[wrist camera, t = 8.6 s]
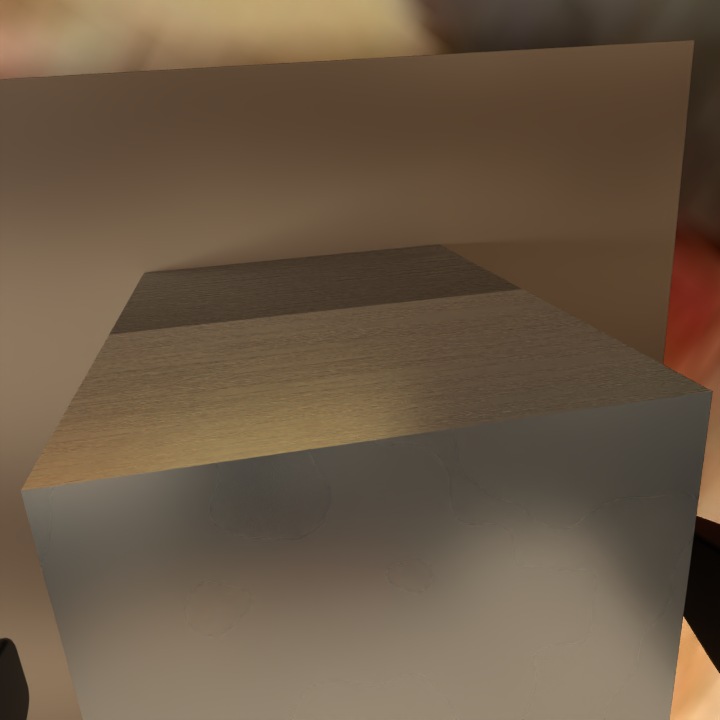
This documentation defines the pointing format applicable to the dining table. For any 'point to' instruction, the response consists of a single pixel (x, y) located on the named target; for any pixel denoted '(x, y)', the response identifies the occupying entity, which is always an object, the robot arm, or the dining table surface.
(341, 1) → the dining table surface
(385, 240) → the stand
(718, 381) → the dining table surface
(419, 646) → the housing
